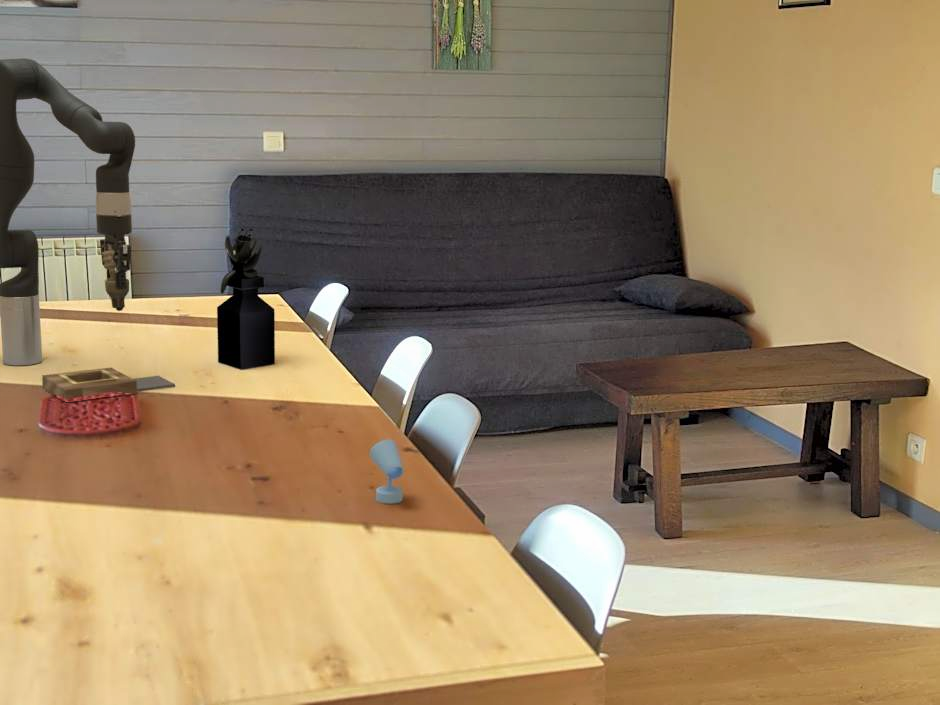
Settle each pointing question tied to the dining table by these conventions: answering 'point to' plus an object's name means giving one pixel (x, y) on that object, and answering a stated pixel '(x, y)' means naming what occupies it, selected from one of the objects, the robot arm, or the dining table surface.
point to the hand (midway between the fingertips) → (116, 287)
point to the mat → (152, 383)
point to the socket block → (88, 383)
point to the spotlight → (388, 470)
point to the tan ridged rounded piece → (114, 283)
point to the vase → (245, 312)
